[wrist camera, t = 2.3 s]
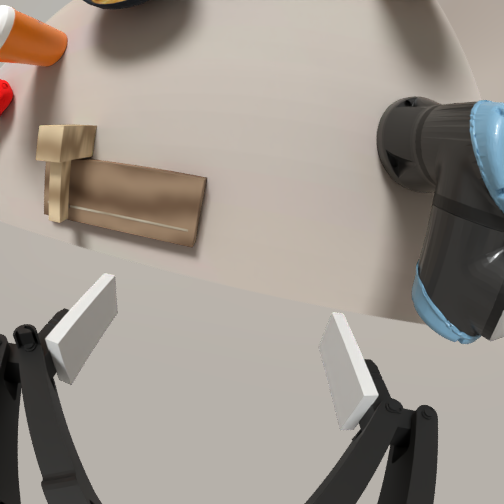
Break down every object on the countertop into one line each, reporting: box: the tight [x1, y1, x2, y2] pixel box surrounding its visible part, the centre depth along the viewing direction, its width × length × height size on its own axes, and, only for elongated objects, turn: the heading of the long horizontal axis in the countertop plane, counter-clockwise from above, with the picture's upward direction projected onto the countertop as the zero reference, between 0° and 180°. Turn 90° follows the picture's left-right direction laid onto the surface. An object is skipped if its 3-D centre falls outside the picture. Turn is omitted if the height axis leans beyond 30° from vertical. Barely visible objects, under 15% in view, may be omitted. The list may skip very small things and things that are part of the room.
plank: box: [44, 158, 207, 247], centre depth 39 cm, size 10×28×2 cm, turn 77°
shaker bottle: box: [0, 5, 67, 67], centre depth 21 cm, size 9×9×20 cm
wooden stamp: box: [36, 125, 97, 223], centre depth 35 cm, size 14×5×9 cm, turn 167°
